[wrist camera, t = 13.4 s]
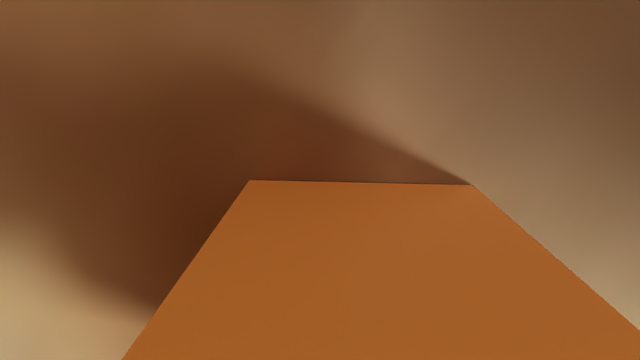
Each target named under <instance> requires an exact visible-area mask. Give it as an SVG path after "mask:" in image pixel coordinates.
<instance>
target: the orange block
mask: <svg viewBox="0 0 640 360" xmlns="http://www.w3.org/2000/svg"><path fill="white" fill-rule="evenodd" d="M122 360H640V331H639V330H638V329H637V328H636V327H635V326H634V325H632V324H631V323H630V322H629V321H628V320H627V319H626V318H624V317H623V316H622V315H621V314H620V313H619V312H618V311H616V310H615V309H614V308H613V307H612V306H611V305H610V304H608V303H607V302H606V301H605V300H604V299H603V298H602V297H600V296H599V295H598V294H597V293H596V292H595V291H593V290H592V289H591V288H590V287H589V286H588V285H587V284H585V283H584V282H583V281H582V280H581V279H580V278H579V277H577V276H576V275H575V274H574V273H573V272H572V271H571V270H569V269H568V268H567V267H566V266H565V265H564V264H563V263H561V262H560V261H559V260H558V259H557V258H556V257H555V256H553V255H552V254H551V253H550V252H549V251H548V250H546V249H545V248H544V247H543V246H542V245H541V244H540V243H538V242H537V241H536V240H535V239H534V238H533V237H532V236H530V235H529V234H528V233H527V232H526V231H525V230H524V229H522V228H521V227H520V226H519V225H518V224H517V223H516V222H514V221H513V220H512V219H511V218H510V217H509V216H508V215H506V214H505V213H504V212H503V211H502V210H501V209H499V208H498V207H497V206H496V205H495V204H494V203H493V202H491V201H490V200H489V199H488V198H487V197H486V196H485V195H483V194H482V193H481V192H480V191H479V190H478V189H477V188H475V187H474V186H473V185H444V184H401V183H357V182H313V181H270V180H249V181H248V183H247V184H246V185H245V187H244V188H243V190H242V191H241V193H240V194H239V195H238V197H237V198H236V200H235V201H234V202H233V204H232V205H231V207H230V208H229V209H228V211H227V212H226V214H225V215H224V216H223V218H222V219H221V221H220V222H219V223H218V225H217V226H216V228H215V229H214V231H213V232H212V233H211V235H210V236H209V238H208V239H207V240H206V242H205V243H204V245H203V246H202V247H201V249H200V250H199V252H198V253H197V254H196V256H195V257H194V259H193V260H192V262H191V263H190V264H189V266H188V267H187V269H186V270H185V271H184V273H183V274H182V276H181V277H180V278H179V280H178V281H177V283H176V284H175V285H174V287H173V288H172V290H171V291H170V292H169V294H168V295H167V297H166V298H165V300H164V301H163V302H162V304H161V305H160V307H159V308H158V309H157V311H156V312H155V314H154V315H153V316H152V318H151V319H150V321H149V322H148V323H147V325H146V326H145V328H144V329H143V330H142V332H141V333H140V335H139V336H138V338H137V339H136V340H135V342H134V343H133V345H132V346H131V347H130V349H129V350H128V352H127V353H126V354H125V356H124V357H123V359H122Z"/></svg>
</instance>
